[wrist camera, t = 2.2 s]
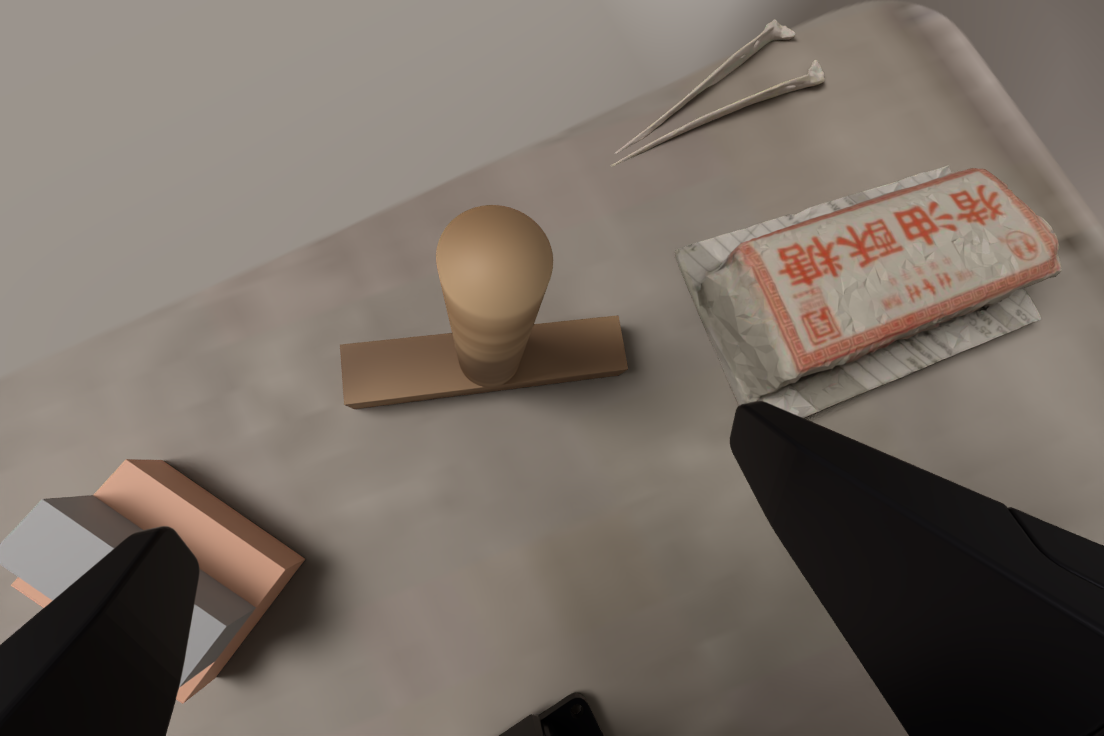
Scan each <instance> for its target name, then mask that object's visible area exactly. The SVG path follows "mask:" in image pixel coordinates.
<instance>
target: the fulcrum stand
mask: <svg viewBox="0 0 1104 736" xmlns="http://www.w3.org/2000/svg"><path fill="white" fill-rule="evenodd" d="M161 526H168V527H171V528H173V529H174V530H175V531H176V532H177V533H178V535H179V536H180V537H181V539H182V540H183V541H184V542H185V544H186V545H187V546H188V548H189V549H190V550H191V551H192V553H193V554H194V555H195V557H196V558H197V560H198V563H199V568H200V574H199V581H198V587H197V593H196V598H195V604H194V610H193V616H192V622H191V627H190V633H189V639H188V645H187V651H186V656H185V662H184V667H183V672H182V677H181V682H180V686H179V690H178V693H177V697H176V699H177V700H178V701H180V702H181V703H182V704H183V703H184V702H186V701H187V700H188V699H189V698H191V697H192V696H193V695H194V694H196V693H197V692H198V691H200V690H201V689H202V688H203V687H205V686H206V685H207V684H208V683H210V682H211V681H212V680H213V679H215V678H216V676H217V675H218V674H219V672H220V671H221V670H222V668H223V667H224V666H225V665H226V663H227V662H228V661H229V659H230V658H231V657H232V655H233V654H234V653H235V651H236V650H237V649H238V647H239V646H240V645H241V643H242V642H243V641H244V639H245V638H246V637H247V635H248V634H249V633H250V632H251V630H252V629H253V628H254V626H255V625H256V624H257V622H258V621H259V620H260V618H261V617H262V616H263V614H264V613H265V612H266V610H267V609H268V608H269V606H270V605H271V604H272V602H273V601H274V600H275V599H276V597H277V596H278V595H279V593H280V592H281V591H282V589H283V588H284V587H285V585H286V584H287V583H288V581H289V580H290V579H291V577H292V576H293V575H294V573H295V572H296V571H297V569H298V568H299V567H300V566H301V564H302V563H303V562H304V560H305V558H303V557H302V556H300V555H299V554H297V553H296V552H295V551H293V550H292V549H290V548H289V547H287V546H286V545H284V544H283V543H281V542H280V541H279V540H277V539H276V538H274V537H273V536H271V535H270V534H268V533H267V532H266V531H264V530H263V529H261V528H260V527H258V526H257V525H255V524H254V523H253V522H251V521H250V520H248V519H247V518H245V517H244V516H242V515H241V514H239V513H238V512H237V511H235V510H234V509H232V508H231V507H229V506H228V505H226V504H225V503H224V502H222V501H221V500H219V499H218V498H216V497H215V496H213V495H212V494H211V493H209V492H208V491H206V490H205V489H203V488H202V487H200V486H199V485H197V484H196V483H195V482H193V481H192V480H190V479H189V478H187V477H186V476H184V475H183V474H182V473H180V472H179V471H177V470H176V469H174V468H173V467H171V466H170V465H169V464H167V463H166V462H164V461H163V460H128V459H126V460H125V461H124V462H123V463H122V464H121V465H120V466H119V468H118V469H117V470H116V471H115V472H114V473H113V474H112V475H111V476H110V477H109V478H108V480H107V481H106V482H105V483H104V484H103V485H102V486H101V487H100V488H99V489H98V491H97V492H96V493H95V494H94V495H90V496H77V497H64V498H50V499H42V500H41V501H40V502H39V503H38V504H37V505H36V506H35V507H34V508H33V509H32V511H31V512H30V513H29V514H28V515H27V516H26V517H25V518H24V519H23V520H22V521H21V522H20V523H19V524H18V525H17V526H16V527H15V529H14V530H13V531H12V532H11V533H10V534H9V535H8V536H7V537H6V538H5V539H4V540H3V541H2V542H1V543H0V565H2V566H3V567H5V568H6V569H7V570H9V571H10V572H12V573H13V574H15V575H16V576H18V578H17V579H16V580H15V581H14V582H13V584H12V585H11V586H13V587H14V588H16V589H17V590H18V591H20V592H21V593H23V594H24V595H26V596H27V597H29V598H30V599H31V600H33V601H34V602H36V603H37V604H39V605H40V606H42V607H43V608H44V607H46V606H47V605H48V604H49V603H50V602H52V601H53V600H54V599H55V598H56V597H57V596H59V595H60V594H61V593H62V592H63V591H65V590H66V589H67V588H68V587H69V586H70V585H72V584H73V583H74V582H75V581H76V580H78V579H79V578H80V577H81V576H82V575H83V574H85V573H86V572H87V571H88V570H89V569H90V568H92V567H93V566H94V565H95V564H96V563H98V562H99V561H100V560H101V559H102V558H103V557H105V556H106V555H107V554H108V553H109V552H111V551H112V550H113V549H114V548H115V547H116V546H118V545H119V544H120V543H121V542H122V541H124V540H125V539H126V538H127V537H128V536H130V535H131V534H133V533H135V532H138V531H142V530H146V529H151V528H156V527H161Z"/></svg>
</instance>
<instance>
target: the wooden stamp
mask: <svg viewBox="0 0 1104 736" xmlns="http://www.w3.org/2000/svg"><path fill="white" fill-rule="evenodd" d="M436 263H437V269H438V273H439V278H440V282H441V286H442V291H443V295H444V299H445V304H446V308H447V312H448V317H449V321H450V325H451V330H452V333H447V334H438V335H428V336H419V337H409V338H400V339H390V340H381V341H371V342H362V343H352V344H343V345H340V353H341V367H342V381H343V395H344V405H346V406H348V407H351V408H353V409H359V408H367V407H375V406H382V405H390V404H398V403H406V402H414V401H422V400H430V399H437V398H445V397H453V396H461V395H469V394H477V393H485V392H492V391H500V390H508V389H516V388H524V387H532V386H540V385H547V384H555V383H563V382H571V381H579V380H587V379H595V378H602V377H610V376H618V375H620V374H622V373H623V372H625V371H626V370H628V365H627V360H626V354H625V349H624V343H623V338H622V332H621V327H620V322H619V316H609V317H599V318H590V319H580V320H571V321H561V322H552V323H542V324H534V322H535V319H536V317H537V314H538V311H539V308H540V305H541V303H542V300H543V297H544V294H545V291H546V289H547V286H548V283H549V280H550V277H551V274H552V269H553V254H552V249H551V246H550V243H549V240H548V238H547V236H546V235H545V233H544V232H543V230H542V229H541V228H540V226H539V225H538V224H537V223H536V222H535V221H534V220H532V219H531V218H530V217H528V216H527V215H525V214H524V213H522V212H520V211H518V210H515V209H512V208H509V207H505V206H498V205H486V206H480V207H476V208H472V209H470V210H467V211H465V212H463V213H462V214H460V215H459V216H457V217H456V218H454V219H453V220H452V221H451V222H450V223H449V224H448V226H447V227H446V228H445V230H444V231H443V233H442V235H441V237H440V240H439V242H438V246H437V252H436Z"/></svg>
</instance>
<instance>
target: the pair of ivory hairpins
mask: <svg viewBox="0 0 1104 736" xmlns="http://www.w3.org/2000/svg"><path fill="white" fill-rule="evenodd" d="M794 36H795V32H794V31H791V29H788V28H787V27H786V26H782V25H780V24H779V23H778V22H777V20H773V21H772V22H771V23H769V24H767V26H766V27H765V30H764V31H763V32H762V33H761V34H760V35H759V36H758V37H756V38H755V39H753V40H752V41H751V42H750V43H748V44H747V45H745V46H744V47H742V48H741V49H740V50H738V51H737V52H736V53H735V54H733V55H732V56H731V57H730V58H729V59H728V60H727V61H726V62H724V63H723V64H722V65H721V66H720V67H719V68H718V69H716V70H715V71H714V72H713V73H712V74H711V75H710V76H709V77H708V78H706V79H705V80H704V81H703V82H702V83H701V84H699V85H698V86H697V87H696V88H695V89H694V90H693V91H692V92H690V93H689V94H688V95H687V96H686V97H685V98H683V99H682V100H681V101H680V102H679V103H678V104H676V105H675V106H674V107H673V108H671V109H670V110H669V111H668V112H667V113H665V114H664V115H663V116H661V117H660V118H659V119H658V120H657V121H655V122H654V123H653V124H652V125H650V126H649V127H648V128H647V129H645V130H644V131H643V132H641V133H640V134H638V135H637V136H636V137H635V138H634V139H632V140H631V141H630V142H629V143H627V144H626V145H625V146H623V147H622V148H621V149H619V150H618V151H617V152H616V153H618V152H620V151H622V150H623V149H625V148H627V147H628V146H630V145H632V144H634V143H636V142H638V141H640V140H641V139H643V138H645V137H646V136H647V135H648V134H650V133H651V132H652V131H653V130H654V129H655V128H657V127H658V126H660V125H661V124H662V123H663V122H664V121H665V120H666V119H668V118H669V117H670V116H671V115H672V114H674V113H675V112H677V111H678V110H679V109H680V108H682V107H683V106H684V105H685V104H686V103H687V102H689V101H690V100H691V99H692V98H694V97H695V96H696V95H698V94H699V93H700V92H702V91H703V90H704V89H706V88H707V87H710V86H712V85H713V84H715V83H717V82H718V81H720V80H721V79H722V78H724V77H725V76H726V75H728V74H729V73H730V72H732V71H733V70H734V69H736V68H737V67H738V66H740V65H741V64H743V63H744V62H745V61H746V60H747V59H748V58H749V57H750V56H752V55H753V54H755V53H756V52H757V51H758V50H759V49H761V48H762V47H763V46H765V45H766V44H767V43H769V42H770V41H773V40H790V39H791V38H793V37H794ZM757 40H758V41H757ZM756 41H757V43H756V45H755V42H756ZM754 45H755V46H754ZM824 80H825V79H824V72H823V71H822V69H821V66H820V65H819V62H818V61H817V60H815V61H814V62H813V63H812V66H811V67H810V68H809V70H808V74H807V75H804V76H802V77H798V78H794V79H792V80H788V81H785V82H783V83H780V84H778V85H776V86H773V87H771V88H768V89H767V90H764V91H762V92H759V93H757V94H754V95H752V96H749V97H747V98H744V99H742V100H739V101H737V102H734V103H732V104H730V105H728V106H725V107H723V108H721V109H718V110H716V111H714V112H712V113H709V114H706V115H704V116H702V117H700V118H698V119H696V120H694V121H692V122H690V123H688V124H686V125H684V126H682V127H680V128H678V129H676V130H674V131H672V132H670V133H668V134H666V135H664V136H662V137H661V138H659V139H657V140H655V141H653V142H651V143H649V144H648V145H646V146H644V147H642V148H640V149H639V150H637V151H635V152H633V153H631V154H630V155H628V156H626V157H625V158H623V159H621V160H619V161H618V162H616V163H614V164H613V165H612V166H614V165H617V164H619V163H621V162H623V161H625V160H627V159H629V158H632V157H634V156H636V155H638V154H640V153H643V152H645V151H647V150H649V149H650V148H652V147H654V146H656V145H658V144H660V143H662V142H665V141H667V140H669V139H671V138H673V137H675V136H678V135H680V134H682V133H684V132H687V131H689V130H691V129H694V128H696V127H698V126H701V125H703V124H705V123H708V122H710V121H713V120H715V119H718V118H720V117H722V116H724V115H727V114H730V113H732V112H734V111H737V110H739V109H741V108H744V107H746V106H749V105H751V104H754V103H757V102H760V101H763V100H767V99H769V98H773V97H775V96H779V95H781V94H784V93H787V92H792V91H795V90H799V89H802V88H806V87H810V86H815V85H818V84H821V83H823V82H824ZM610 167H611V166H610Z"/></svg>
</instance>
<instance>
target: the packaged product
mask: <svg viewBox="0 0 1104 736" xmlns="http://www.w3.org/2000/svg"><path fill="white" fill-rule="evenodd" d="M949 166H950V165H948V166H945V167H942V168H939V169H936V170H932V171H929V172H923V173H920V174H917V175H914V176H911V177H908V178H905V179H903V180H900V181H897V182H894V183H890V184H887V185H883V186H880V187H876V188H873V189H870V190H866V191H863V192H860V193H856V194H853V195H850V196H846V197H843V198H840V199H837V200H834V201H830V202H826V203H823V204H820V205H816V206H813V207H810V208H808V209H806V210H804V211H802V212H800V213H798V214H796V215H792V214H789V215H786V216H783V217H779V218H776V219H773V220H769V221H766V222H763V223H760V224H757V225H754V226H751V227H749V228H746V229H741V230H738V231H734V232H731V233H727V234H724V235H721V236H717V237H714V238H711V239H708V240H705V241H701V242H697V243H694V244H691V245H688V246H686V247H683V248H680V249H677V250H675V258H676V261H677V263H678V266H679V268H680V271H681V273H682V275H683V278H684V280H685V283H686V285H687V287H688V290H689V292H690V294H691V297H692V299H693V301H694V304H695V306H696V309H697V311H698V313H699V316H700V318H701V320H702V323H703V325H704V327H705V330H706V332H707V335H708V337H709V339H710V341H711V343H712V345H713V347H714V349H715V351H716V353H717V356H718V358H719V361H720V363H721V366H722V368H723V371H724V373H725V375H726V378H727V380H728V382H729V385H730V387H731V389H732V391H733V394H734V396H735V398H736V400H737V403H738V405H741V404H744V403H749V402H754V401H764V402H767V403H769V404H772V405H774V406H776V407H779V408H781V409H783V410H786V411H788V412H790V413H793V414H795V415H797V416H800V417H802V418H805V417H807V416H809V415H811V414H814V413H816V412H818V411H821V410H823V409H825V408H828V407H830V406H833V405H835V404H838V403H840V402H843V401H845V400H847V399H850V398H852V397H855V396H857V395H860V394H862V393H864V392H867V391H869V390H872V389H874V388H877V387H879V386H882V385H884V384H887V383H889V382H891V381H894V380H896V379H899V378H901V377H904V376H906V375H908V374H911V373H913V372H915V371H918V370H920V369H922V368H925V367H927V366H929V365H932V364H934V363H936V362H939V361H941V360H943V359H946V358H948V357H951V356H953V355H955V354H957V353H960V352H962V351H965V350H967V349H970V348H972V347H975V346H977V345H980V344H982V343H985V342H987V341H989V340H992V339H994V338H997V337H999V336H1002V335H1004V334H1006V333H1009V332H1011V331H1014V330H1016V329H1019V328H1021V327H1023V326H1026V325H1028V324H1031V323H1033V322H1036V321H1038V320H1041V316H1040V314H1039V312H1038V311H1037V309H1036V307H1035V305H1034V304H1033V302H1032V300H1031V298H1030V297H1029V296H1028V294H1027V293H1026V291H1025V290H1024V289H1023V288H1025V287H1027V286H1030V285H1033V284H1035V283H1038V282H1041V281H1043V280H1045V279H1048V278H1051V277H1056V276H1057V275H1058V274H1059V273H1060V272H1061V271H1062V270H1061V264H1060V259H1059V257H1058V255H1057V253H1058V250H1059V244H1058V240H1057V237H1056V234H1055V233H1054V232H1053V229H1052V228H1051V226H1050V225H1049V224H1048V223H1047V222H1046V221H1045V220H1044V219H1043V218H1042V217H1039V216H1037V215H1036V214H1035V213H1034V212H1033V211H1032V210H1031V209H1030V208H1029V207H1028V206H1027V205H1026V204H1025V203H1024V202H1023V201H1022V200H1020V199H1019V198H1018V197H1016V196H1015V195H1014V194H1013V192H1012V190H1009V189H1007V188H1008V185H1007V184H1005V183H1004V182H1002V181H1001V180H999V179H998V178H997V177H995V176H994V175H993V174H991V173H990V172H988V171H987V170H985V169H976V168H971V169H967V170H962V171H957V172H952V173H951V172H950V168H949Z"/></svg>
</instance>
